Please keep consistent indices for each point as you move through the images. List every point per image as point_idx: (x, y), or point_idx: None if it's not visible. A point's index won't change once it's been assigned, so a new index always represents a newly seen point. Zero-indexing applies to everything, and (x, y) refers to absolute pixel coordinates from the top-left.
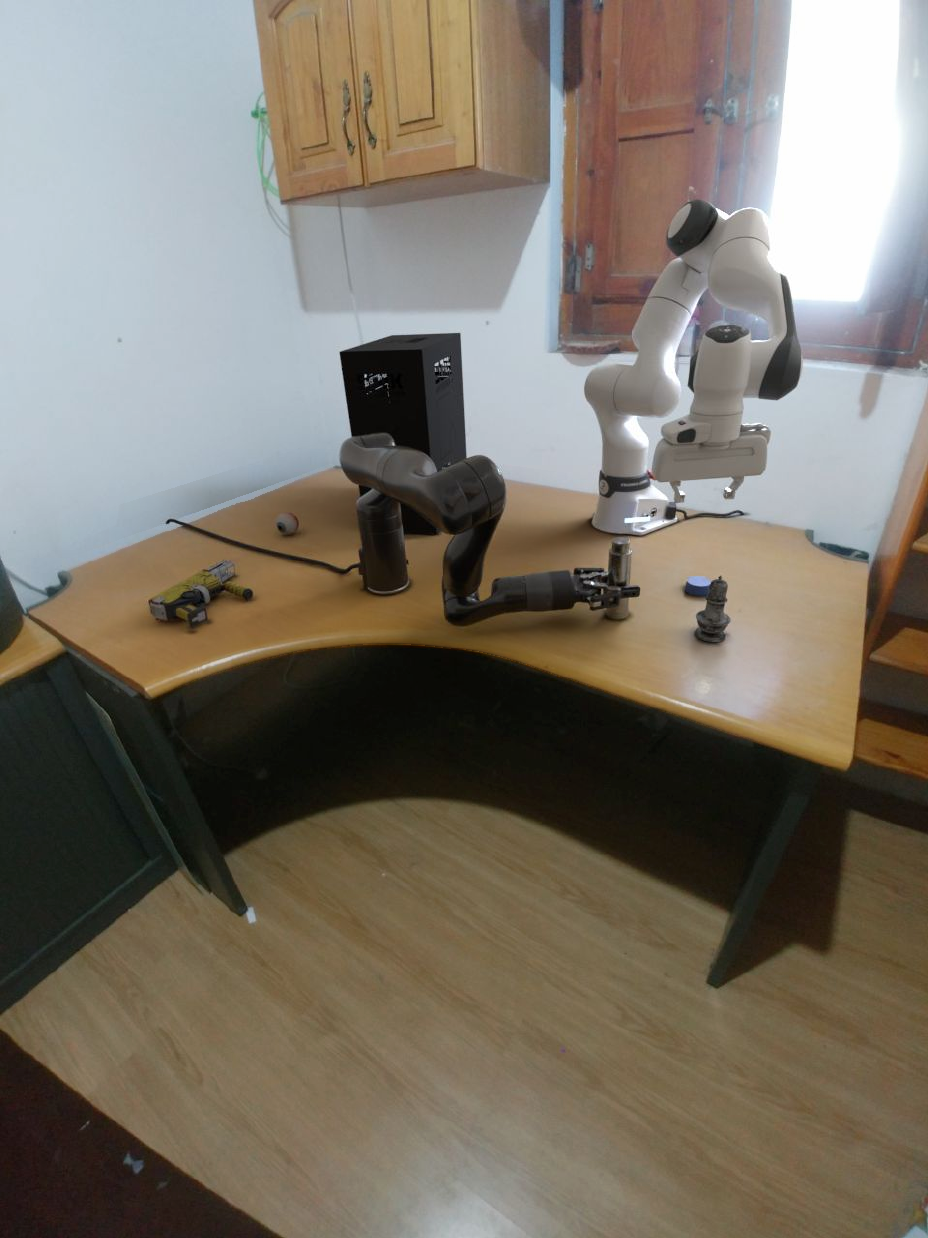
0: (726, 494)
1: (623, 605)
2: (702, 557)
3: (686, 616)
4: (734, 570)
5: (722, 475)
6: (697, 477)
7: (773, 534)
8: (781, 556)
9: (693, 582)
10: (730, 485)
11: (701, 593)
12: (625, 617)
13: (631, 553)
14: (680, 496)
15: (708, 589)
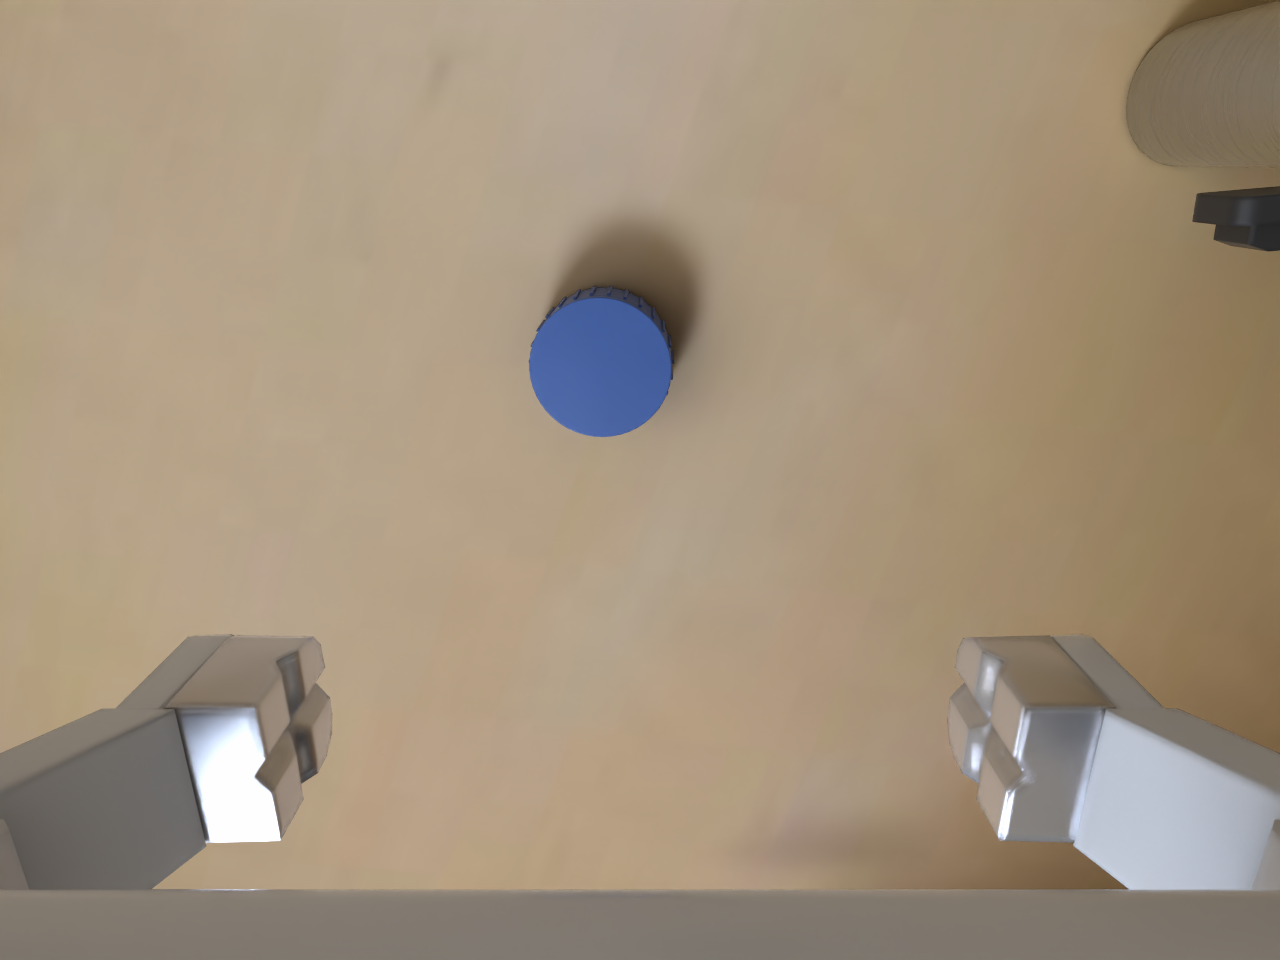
0: (287, 711)
1: (1258, 6)
2: (458, 721)
3: (779, 28)
4: (333, 566)
5: (281, 934)
6: (1041, 931)
7: None
8: (52, 686)
9: (640, 353)
10: (162, 868)
11: (605, 288)
12: (1166, 35)
13: None
14: (1087, 686)
15: (561, 301)
